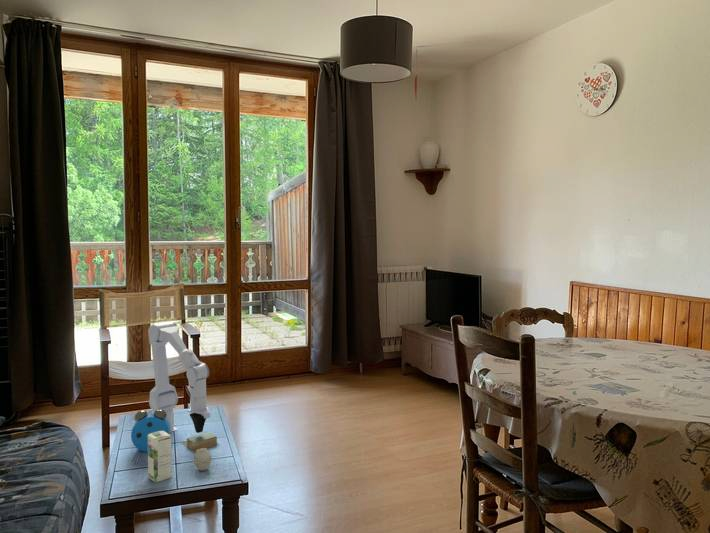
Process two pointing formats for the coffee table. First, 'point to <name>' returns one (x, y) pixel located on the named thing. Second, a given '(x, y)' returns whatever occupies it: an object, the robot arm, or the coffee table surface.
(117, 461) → the coffee table surface
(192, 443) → the oak slab
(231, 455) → the coffee table surface
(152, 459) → the syrup box
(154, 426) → the alarm clock
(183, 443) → the rubber mat
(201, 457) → the beige rounded lump
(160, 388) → the robot arm
